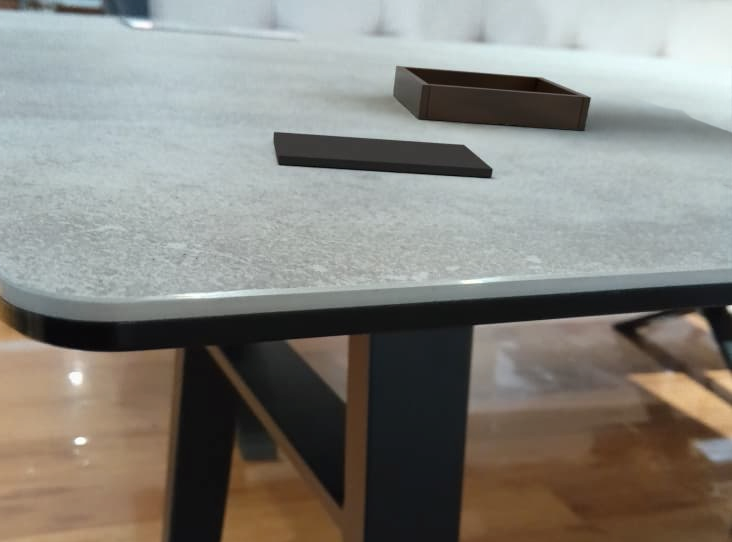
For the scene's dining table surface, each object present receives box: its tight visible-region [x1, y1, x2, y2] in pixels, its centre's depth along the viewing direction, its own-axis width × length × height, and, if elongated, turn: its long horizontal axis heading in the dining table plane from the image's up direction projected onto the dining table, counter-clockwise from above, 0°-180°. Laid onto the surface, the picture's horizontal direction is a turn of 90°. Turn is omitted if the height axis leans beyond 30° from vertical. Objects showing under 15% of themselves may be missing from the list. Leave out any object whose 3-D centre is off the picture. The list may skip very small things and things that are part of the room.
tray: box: [392, 65, 592, 131], centre depth 73 cm, size 13×12×2 cm
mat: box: [272, 131, 494, 178], centre depth 52 cm, size 12×7×1 cm, turn 96°
